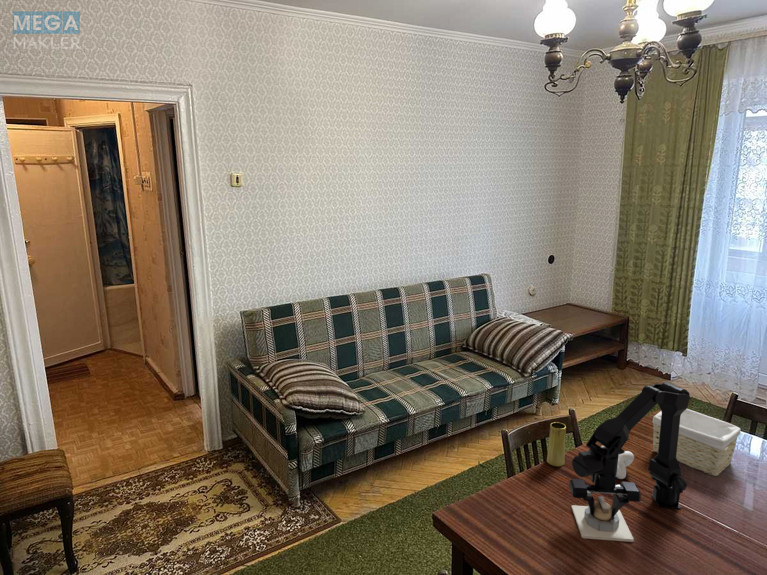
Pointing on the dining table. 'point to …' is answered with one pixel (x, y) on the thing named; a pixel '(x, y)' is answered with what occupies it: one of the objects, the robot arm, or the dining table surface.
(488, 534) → the dining table surface
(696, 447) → the storage basket
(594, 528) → the socket board
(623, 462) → the white curved piece
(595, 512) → the rotary grip knob
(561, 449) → the vase
